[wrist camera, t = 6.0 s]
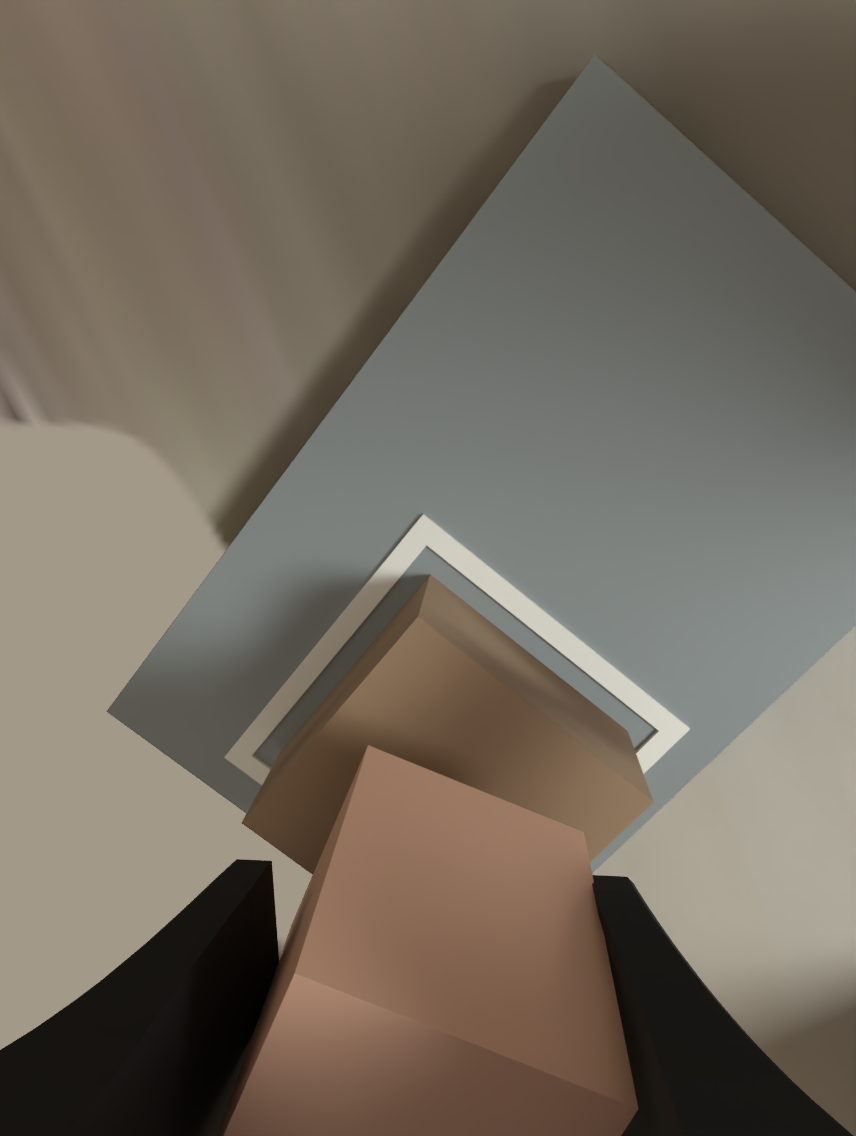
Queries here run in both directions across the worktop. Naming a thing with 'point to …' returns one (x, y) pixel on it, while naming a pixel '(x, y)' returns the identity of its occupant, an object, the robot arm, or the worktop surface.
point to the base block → (454, 732)
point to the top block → (439, 977)
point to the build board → (559, 468)
